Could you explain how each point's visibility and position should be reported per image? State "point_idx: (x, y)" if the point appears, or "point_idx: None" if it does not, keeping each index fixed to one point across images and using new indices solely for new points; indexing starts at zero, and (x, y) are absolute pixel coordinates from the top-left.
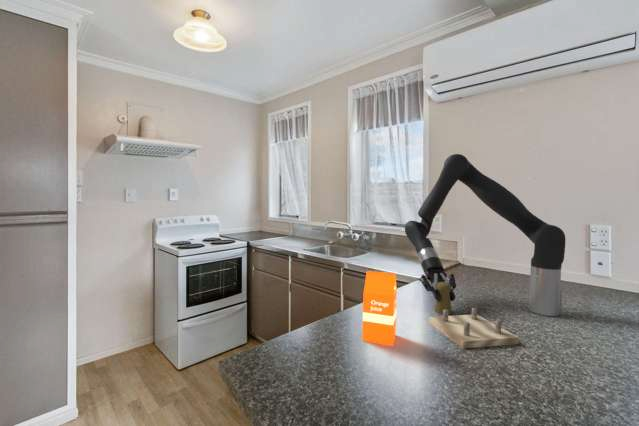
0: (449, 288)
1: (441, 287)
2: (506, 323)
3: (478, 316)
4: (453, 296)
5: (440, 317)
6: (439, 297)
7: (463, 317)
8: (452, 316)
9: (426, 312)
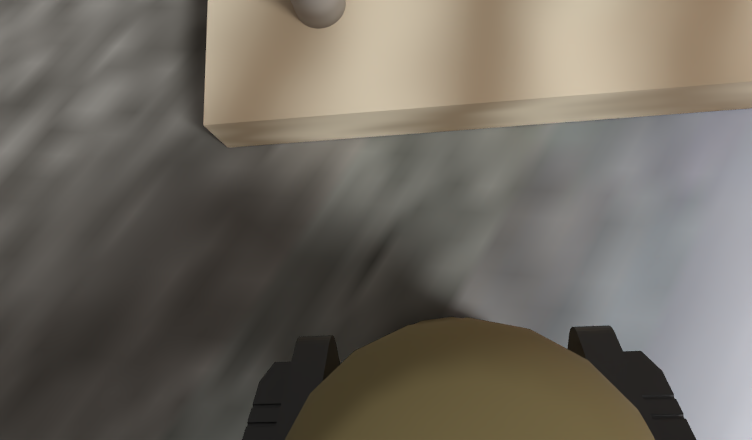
0: (405, 328)
1: (622, 394)
2: (15, 56)
3: (225, 66)
4: (313, 356)
5: (692, 55)
6: (616, 342)
7: (412, 44)
8: (524, 78)
9: (693, 421)
